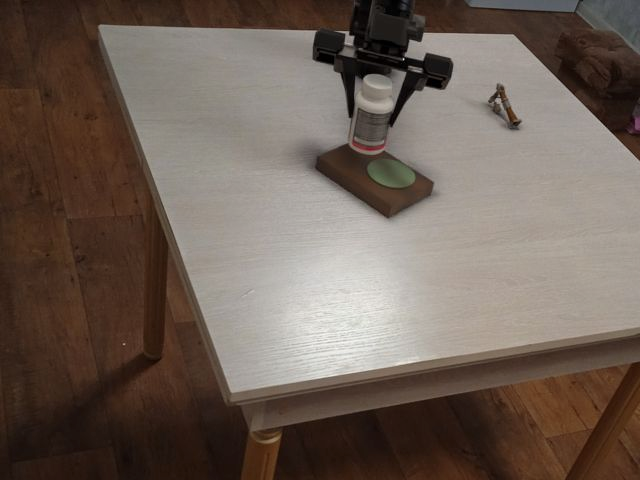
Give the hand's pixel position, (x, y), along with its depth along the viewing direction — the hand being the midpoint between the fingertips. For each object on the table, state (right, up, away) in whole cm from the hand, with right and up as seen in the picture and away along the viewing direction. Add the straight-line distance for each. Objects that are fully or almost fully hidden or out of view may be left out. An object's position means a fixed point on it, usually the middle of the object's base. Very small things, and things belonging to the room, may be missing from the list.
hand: (370, 122), depth 111 cm
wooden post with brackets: (+22, +9, +30) cm, 38 cm away
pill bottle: (-1, -2, +4) cm, 5 cm away
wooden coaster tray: (0, -6, +8) cm, 10 cm away
